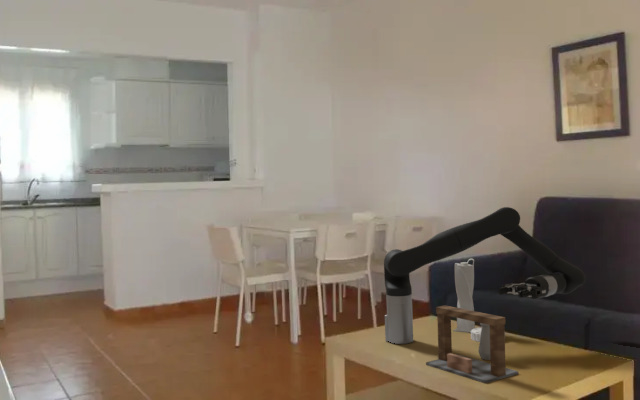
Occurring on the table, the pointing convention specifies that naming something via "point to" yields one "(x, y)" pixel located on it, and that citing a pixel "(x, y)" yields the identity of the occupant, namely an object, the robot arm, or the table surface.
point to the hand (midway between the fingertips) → (509, 293)
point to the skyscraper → (464, 293)
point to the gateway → (465, 364)
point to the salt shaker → (485, 342)
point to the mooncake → (476, 334)
